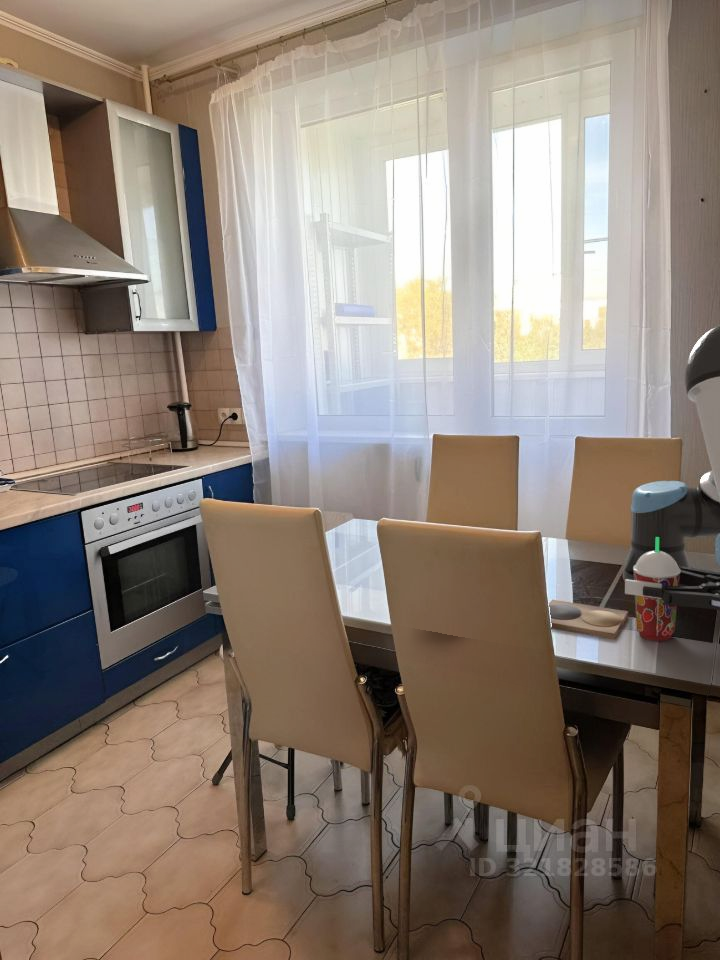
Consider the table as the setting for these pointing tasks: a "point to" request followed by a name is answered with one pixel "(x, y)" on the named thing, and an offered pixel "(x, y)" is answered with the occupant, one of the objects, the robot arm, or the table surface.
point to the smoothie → (652, 612)
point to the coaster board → (587, 619)
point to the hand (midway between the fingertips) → (630, 578)
